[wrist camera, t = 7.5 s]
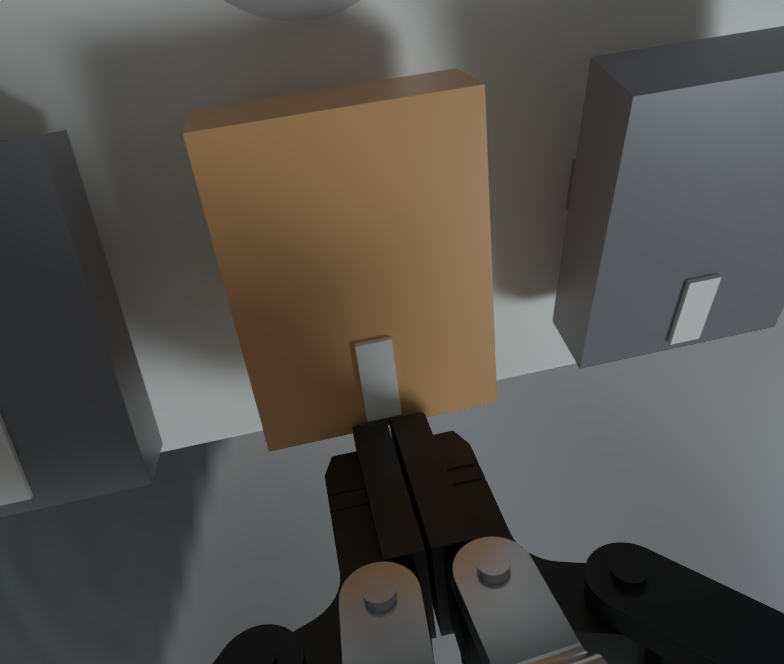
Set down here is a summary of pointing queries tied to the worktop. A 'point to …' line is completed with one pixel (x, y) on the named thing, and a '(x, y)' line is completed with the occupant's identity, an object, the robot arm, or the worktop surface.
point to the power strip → (297, 75)
